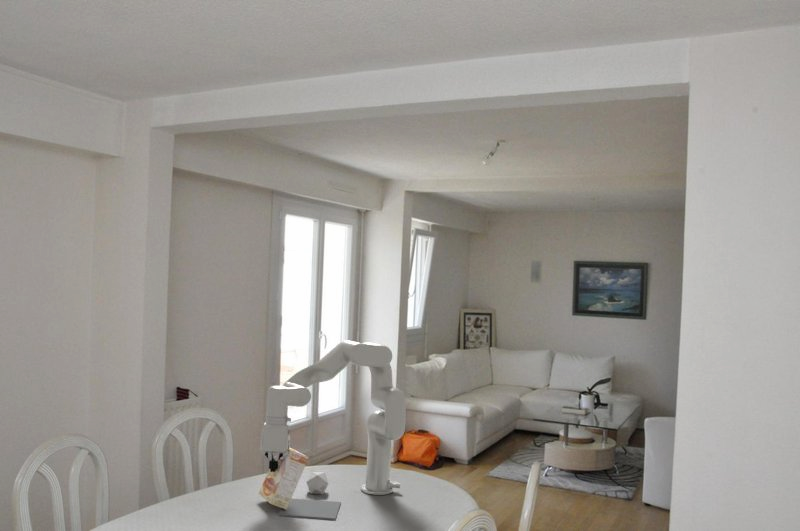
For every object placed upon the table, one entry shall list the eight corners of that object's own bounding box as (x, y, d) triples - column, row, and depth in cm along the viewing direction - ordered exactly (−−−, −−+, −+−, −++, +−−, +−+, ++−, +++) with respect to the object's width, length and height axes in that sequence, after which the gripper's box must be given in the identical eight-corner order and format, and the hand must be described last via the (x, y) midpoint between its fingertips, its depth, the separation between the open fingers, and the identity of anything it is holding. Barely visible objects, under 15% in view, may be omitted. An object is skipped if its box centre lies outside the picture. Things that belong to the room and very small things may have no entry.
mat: (340, 503, 264) (340, 501, 264) (335, 520, 246) (335, 518, 246) (287, 499, 264) (287, 498, 264) (278, 516, 246) (278, 514, 246)
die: (318, 499, 269) (333, 478, 272) (300, 486, 271) (315, 464, 274) (319, 500, 277) (334, 479, 280) (302, 487, 278) (317, 466, 281)
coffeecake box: (257, 493, 261) (280, 443, 266) (274, 499, 264) (296, 450, 268) (269, 503, 248) (293, 450, 252) (287, 510, 250) (309, 457, 255)
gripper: (298, 419, 259) (295, 469, 259) (258, 416, 260) (255, 466, 260) (295, 423, 252) (291, 475, 252) (253, 421, 252) (250, 472, 252)
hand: (273, 470), depth 256 cm, fingers closed
